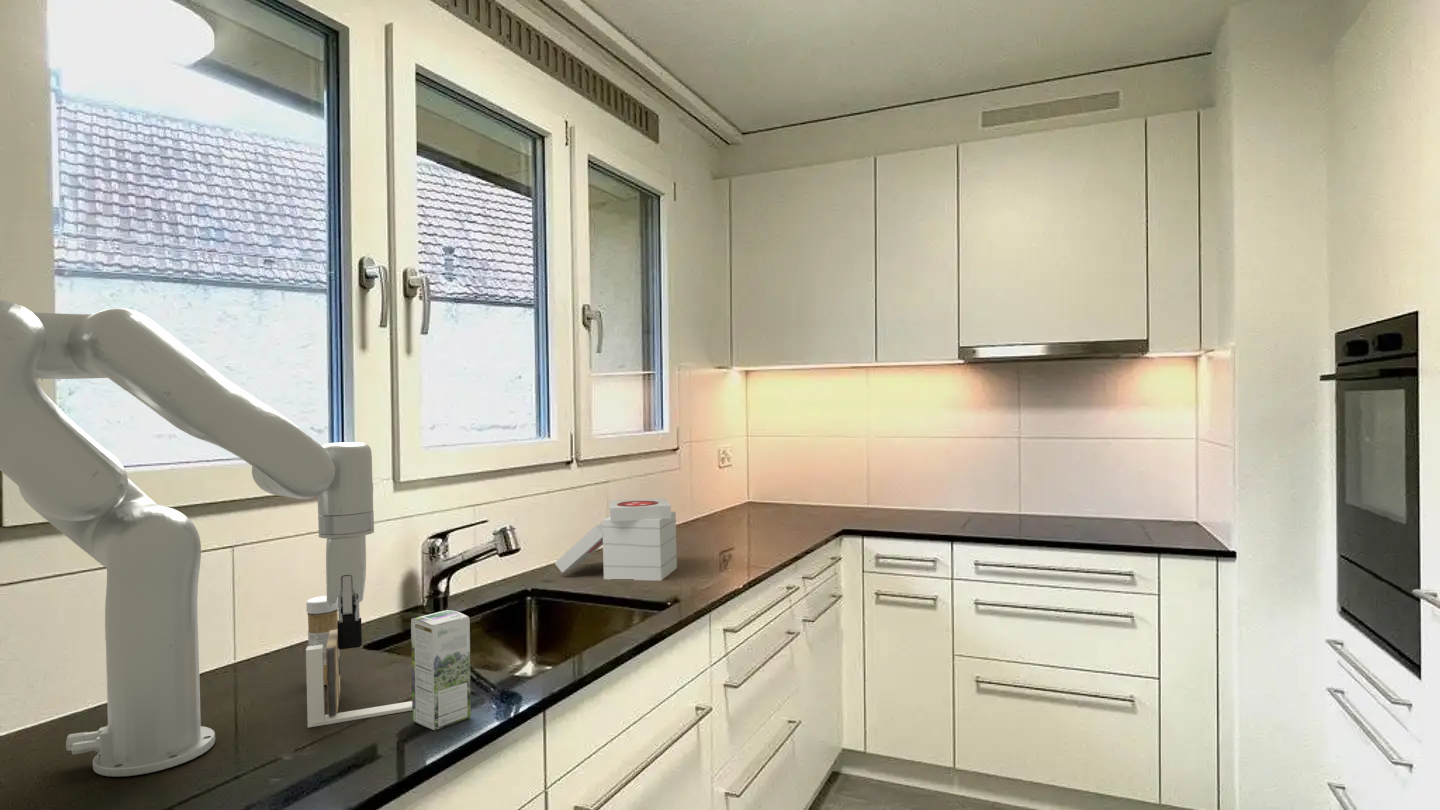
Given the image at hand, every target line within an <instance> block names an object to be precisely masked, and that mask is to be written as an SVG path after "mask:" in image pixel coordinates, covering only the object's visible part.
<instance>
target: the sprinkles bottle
mask: <svg viewBox="0 0 1440 810" xmlns="http://www.w3.org/2000/svg"><path fill="white" fill-rule="evenodd" d="M305 608H306V613H307V621H308V623H307V625H308V626H307V627H308V631H307V638H308V644H307V645H308V646H315V645H322V644H323V660H324V685H326V686H327V662H326V647H327V642H328V637H329V632H330V630H337V622H338V620H339V615H338V598H337V600H336V603H333V604H332V606H328V605H327V595H321V596H315V597H312V598H310V599H307V601H306V607H305ZM340 654H341V653H339V656H340ZM340 657H341V656H340ZM340 678H341V675H340Z"/></svg>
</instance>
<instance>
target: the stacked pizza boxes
mask: <svg viewBox="0 0 1440 810" xmlns="http://www.w3.org/2000/svg"><path fill="white" fill-rule="evenodd" d="M671 506H672V505H671V504H670V502H669V501H668V500H667V498H648V499H647V498H646V499H626V500H623V499H622V500H609V516H608V517H605V518H603V519H601V521H602V522H601V523H599V524H596V525H595V526H594V527H593V528H592V529H590V530H589V531H588V532H587V533H586V534H585V535H584V536H582V538H580V539H579V541H577V542H576V543H575V544H574V545H573V546H572V547H571V548H569V549H568V550H567V551H566V552H565V553H564V554H562V555H561V557H559V558H557V560H556V561H554V564H555V566H556V567H557V569H559V571H560V572H561V573H562V574H563V573H564V572H567V571H568V570H570V569H572V568H574V567H576V566H577V565H579V564H581V563H583V562H585V561H586V560H587V559H588V558H589V557H591V555H593V554H594V553H595V552H596V551H597V550H598V549H600V548H601V546H602V556H603V557H602V562H603V563H602V564H603V580H611V579H634V580H633V581H658V582H659V581H663V580H665V578H667V577H668V576H669V575H671V573H673V572H674V571H676V569H677V568H678V560H677V559H678V557H677V556H678V555H677V522H676V519H677V517H676V513H677V512H676V511H672V507H671Z"/></svg>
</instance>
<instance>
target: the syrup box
mask: <svg viewBox="0 0 1440 810" xmlns="http://www.w3.org/2000/svg"><path fill="white" fill-rule="evenodd" d="M410 621H411V622H410V635H411V636H410V641H411V645H410V647H411V689H412V690H411V696H412V697H411V701H412V710H411V711H412V713H411V714H412V721H413V722H414V723H416V724H419V725H421V726H423V727H425V728H428V729H429V730H433V731H437V730H440V729H442V728H446V727H448V726H451V725H453V724H456V723H459V722H462V721H464V720H467V719H469V718H471V716H472V715H471V714H472V713H471V712H472V711H471V710H472V709H471V705H472V703H471V632H470V631H471V630H470V629H471V627H470V626H471V625H470V624H471V623H470V622H471V621H470V617H469V616H468V615H466V614H464V613H462V612H460V611H456V610H451V609H446V610H442V611H437V612H434V613H429V614H425V615H421V616H417V617H414V618H413V617H412V618H411V619H410Z"/></svg>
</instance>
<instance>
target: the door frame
mask: <svg viewBox="0 0 1440 810" xmlns="http://www.w3.org/2000/svg"><path fill="white" fill-rule="evenodd" d="M305 668H306V669H305V670H306V709H307V728H314V727H320V726H325V725H331V724H337V723H338V724H339V723H344V722H350V721H356V720H362V719H366V718H367V719H370V718H374V717H379V716H386V715H391V714H397V713H405V712H408V711H409V712H411V711H412V700H411V701H405V702H398V703H397V702H396V703H392V704H386V705H380V706H379V705H378V706H374V707H367V708H361V709H355V710H350V711H349V710H348V711H342V712H337V713H336V715H334V716H329V714H326V707H325V705H326V704H325V703H326V702H325V701H326V700H325V686H324V660H323V644H322V645H315V646H309V645H307V646H306V649H305Z"/></svg>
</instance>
